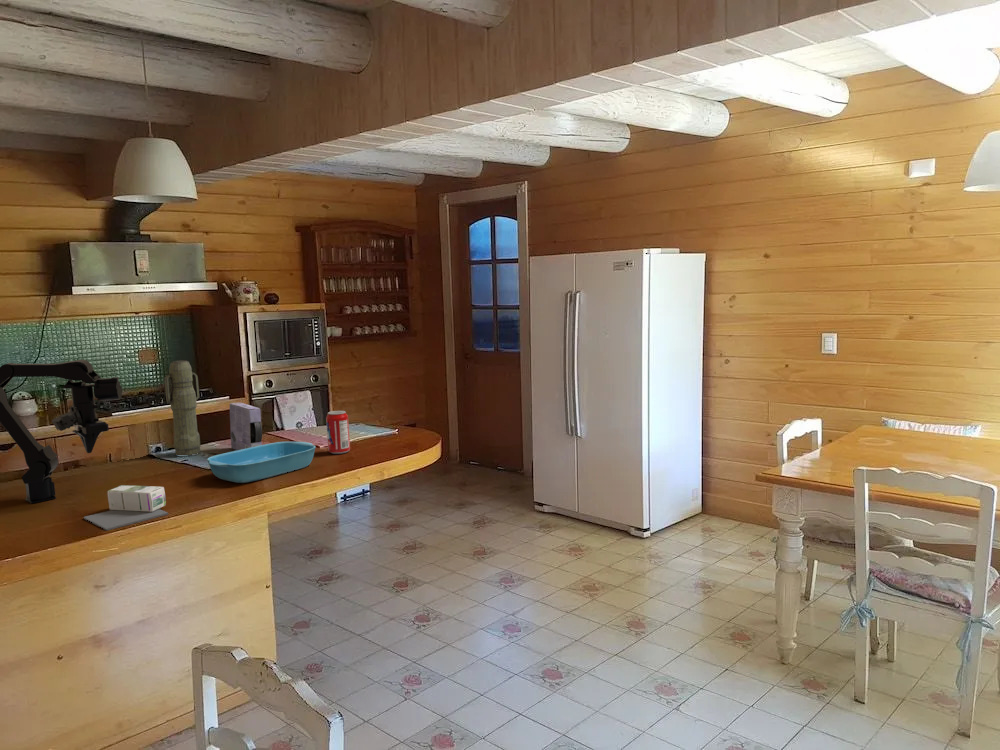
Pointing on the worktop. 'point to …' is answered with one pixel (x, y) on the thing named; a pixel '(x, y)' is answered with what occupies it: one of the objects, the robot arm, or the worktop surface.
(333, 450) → the soda can
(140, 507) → the syrup box
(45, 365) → the robot arm
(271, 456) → the casserole dish
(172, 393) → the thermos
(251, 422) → the cake pan box
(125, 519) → the mat
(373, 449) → the worktop surface
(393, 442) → the worktop surface
